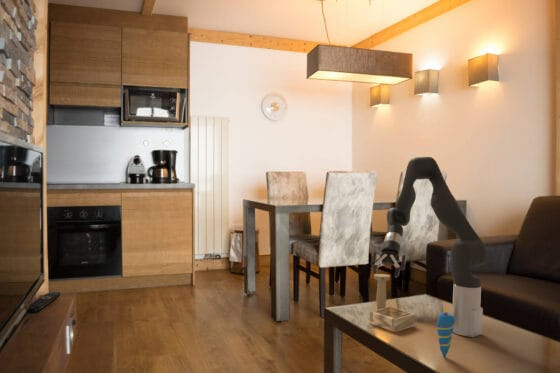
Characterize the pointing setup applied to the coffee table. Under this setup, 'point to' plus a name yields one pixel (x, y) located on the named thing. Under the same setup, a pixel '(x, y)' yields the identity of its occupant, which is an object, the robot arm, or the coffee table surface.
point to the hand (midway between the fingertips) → (385, 275)
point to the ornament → (445, 331)
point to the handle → (381, 290)
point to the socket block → (392, 319)
